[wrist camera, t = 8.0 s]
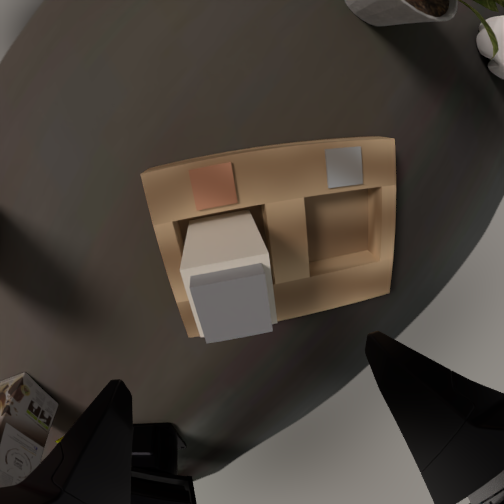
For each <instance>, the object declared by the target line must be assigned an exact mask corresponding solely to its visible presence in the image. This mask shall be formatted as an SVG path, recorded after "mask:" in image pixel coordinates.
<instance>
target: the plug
mask: <svg viewBox="0 0 504 504" xmlns="http://www.w3.org/2000/svg"><path fill="white" fill-rule="evenodd" d="M180 273H181V276H182V279H183V283H184V286H185V290H186V293H187V296H188V300H189V303H190V306H191V309H192V312H193V316H194V319H195V322H196V325H197V328H198V331H199V334H200V337H205V340H206V343H213V342H219V341H224V340H230V339H236V338H241V337H246V336H251V335H257V334H262V333H266V332H271V331H273V329H272V324H276V323H277V315H276V307H275V299H274V291H273V283H272V275H271V267H270V259H269V253H268V251H267V248H266V246H265V244H264V242H263V239H262V237H261V235H260V233H259V231H258V228H257V226H256V224H255V222H254V220H253V217H252V215H251V213H250V211H249V209H248V210H243V211H237V212H232V213H226V214H221V215H216V216H210V217H205V218H200V219H195V220H190V221H189V225H188V230H187V235H186V240H185V245H184V250H183V255H182V260H181V266H180Z"/></svg>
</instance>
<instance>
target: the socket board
mask: <svg viewBox="0 0 504 504" xmlns="http://www.w3.org/2000/svg"><path fill="white" fill-rule="evenodd" d="M141 178H142V183H143V187H144V191H145V195H146V199H147V203H148V207H149V211H150V215H151V219H152V223H153V226H154V230H155V234H156V237H157V241H158V244H159V248H160V251H161V255H162V258H163V262H164V265H165V268H166V271H167V275H168V278H169V281H170V284H171V287H172V290H173V293H174V296H175V299H176V302H177V305H178V308H179V311H180V314H181V317H182V320H183V323H184V325H185V328H186V331H187V334H188V337H189V338H190V337H196V336H200V334H199V331H198V328H197V325H196V322H195V319H194V316H193V312H192V309H191V306H190V303H189V300H188V296H187V293H186V290H185V286H184V283H183V279H182V276H181V273H180V266H181V260H182V255H183V250H184V245H185V240H186V235H187V230H188V225H189V221H190V220H195V219H200V218H205V217H210V216H216V215H221V214H226V213H232V212H237V211H243V210H248V209H249V211H250V213H251V215H252V217H253V220H254V222H255V224H256V226H257V228H258V231H259V233H260V235H261V237H262V239H263V242H264V244H265V246H266V248H267V251H268V253H269V259H270V267H271V275H272V283H273V291H274V299H275V307H276V315H277V321H281V320H286V319H290V318H295V317H299V316H304V315H308V314H312V313H316V312H321V311H325V310H329V309H333V308H337V307H340V306H344V305H348V304H352V303H356V302H359V301H363V300H367V299H370V298H374V297H377V296H381V295H384V294H388V293H390V284H391V275H392V265H393V253H394V239H395V219H396V158H395V139H393V138H387V137H380V136H363V137H346V138H332V139H320V140H309V141H299V142H291V143H282V144H274V145H267V146H260V147H253V148H247V149H240V150H234V151H228V152H223V153H217V154H212V155H207V156H201V157H196V158H192V159H187V160H182V161H178V162H173V163H169V164H164V165H160V166H156V167H152V168H149V169H147V170H146V171H144V172H143V173H142V174H141Z"/></svg>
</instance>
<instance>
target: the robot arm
mask: <svg viewBox="0 0 504 504" xmlns="http://www.w3.org/2000/svg"><path fill="white" fill-rule="evenodd" d="M365 353H366V356H367V359H368V362H369V364H370V366H371V369H372V372H373V374H374V377H375V380H376V382H377V384H378V387H379V389H380V391H381V393H382V395H383V397H384V399H385V401H386V403H387V405H388V407H389V408H390V411H391V413H392V415H393V417H394V419H395V421H396V422H397V425H398V426H399V428H400V431H401V433H402V434H403V437H404V439H405V441H406V443H407V445H408V447H409V449H410V451H411V453H412V455H413V457H414V459H415V461H416V464H417V466H418V468H419V470H420V472H421V475H422V477H423V479H424V481H425V483H426V485H427V488H428V490H429V492H430V495H431V497H432V499H433V501H434V504H456V503H458V502H460V501H461V500H463V499H464V498H466V497H468V498H469V500H470V502H471V503H469V504H504V393H501V392H499V391H496V390H494V389H491V388H489V387H486V386H483V385H481V384H478V383H476V382H474V381H471V380H469V379H467V378H465V377H463V376H461V375H459V374H457V373H456V372H454V371H451V370H450V369H448V368H446V367H444V366H442V365H441V364H439V363H437V362H435V361H433V360H431V359H429V358H428V357H426V356H424V355H422V354H420V353H418V352H416V351H414V350H412V349H411V348H409V347H407V346H405V345H403V344H402V343H400V342H398V341H396V340H394V339H392V338H391V337H389V336H387V335H385V334H383V333H381V332H379V331H375V332H372V333H369V334H368V335H367V341H366V347H365ZM177 449H186V444H185V443H184V441H183V440H182V438H181V437H180V436H179V434H178V433H177V432H176V430H175V429H174V427H173V426H172V425H171V424H169V423H161V424H133V419H132V395H131V393H130V391H129V390H128V388H127V387H126V385H125V384H124V382H123V381H122V380H120V379H118V380H111V381H110V382H109V383H108V384H107V385H106V387H105V388H104V389H103V390H102V391H101V392H100V394H99V395H98V396H97V397H96V398H95V400H94V401H93V402H92V403H91V404H90V405H89V407H88V408H87V409H86V410H85V411H84V413H83V414H82V415H81V416H80V417H79V419H78V420H77V421H76V422H75V423H74V425H73V426H72V427H71V428H70V429H69V431H68V432H67V433H66V434H65V436H64V437H63V438H62V439H61V442H59V443H58V444H57V445H56V446H55V448H54V449H53V450H52V451H51V452H50V454H49V455H48V456H47V457H46V458H45V459H44V460H43V461H42V462H41V463H40V464H39V465H38V466H37V467H36V468H35V469H34V470H33V471H32V472H31V473H30V474H29V475H28V476H27V477H26V478H25V479H24V480H23V481H22V482H20V483H18V484H16V485H12V486H6V487H0V504H196V498H195V492H194V487H193V480H192V476H180V475H177Z"/></svg>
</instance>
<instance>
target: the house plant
mask: <svg viewBox="0 0 504 504" xmlns="http://www.w3.org/2000/svg"><path fill="white" fill-rule="evenodd" d="M344 1H345V3H346V4H347V6H348V7H349V9H350V10H351V11H352V12H353V13H354V14H355V15H356V16H358V17H359V18H360V19H361V20H363V21H365V22H367V23H368V24H371V25H374V26H390V25H398V24H407V23H419V22H439V21H448V20H450V19H451V18H453V17H454V15H455V14H456V12H457V8H458V0H344ZM459 1H460V2H462V3H463V4H465V5H466V6H467V7H469V8H470V9H471V10H472V11H473V12H474V13H475V14H476V15H477V17H478V18H479V19H480V21H481V22H482V24H483V25H484V27H485V29H486V31H487V33H488V35H489V38H490V40H491V43H492V45H493V57H492V58H494V56H495V55H496V53H497V52H498V50H499V49H498V42H497V39H496V36H495V34H494V32H493V30H492V29H491V27H490V26H489V25H488V23H487V22H486V21H485V20H484V18H483V17H482V16H481V15H480V14H479V13H478V12H477V11H476V10H475V9H473V8H472V7H471V6H469V5H468V4H467V3H465V2H463V1H461V0H459ZM473 1H475V2H477V3H479V4H481V5H482V6H484V7H486V8H488V9H489V10H492V11H497V12H498V9H497V6H496V4H495V2H497V3H498V4H500V5H501V6H503V7H504V0H473ZM492 58H491V59H492Z"/></svg>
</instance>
